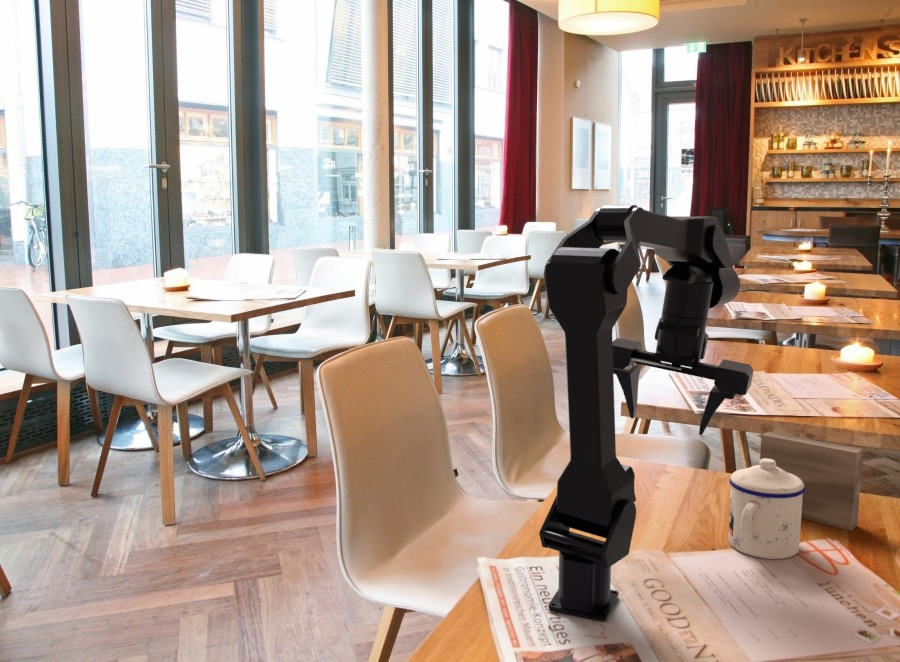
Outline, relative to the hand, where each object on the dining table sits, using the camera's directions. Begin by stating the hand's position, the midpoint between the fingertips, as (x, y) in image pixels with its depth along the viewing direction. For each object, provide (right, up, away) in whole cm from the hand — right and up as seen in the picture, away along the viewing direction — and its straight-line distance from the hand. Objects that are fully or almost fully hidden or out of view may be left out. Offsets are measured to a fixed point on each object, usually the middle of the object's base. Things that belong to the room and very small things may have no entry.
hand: (666, 425), depth 107 cm
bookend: (+22, -14, +7) cm, 27 cm away
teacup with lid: (+11, -16, -4) cm, 20 cm away
